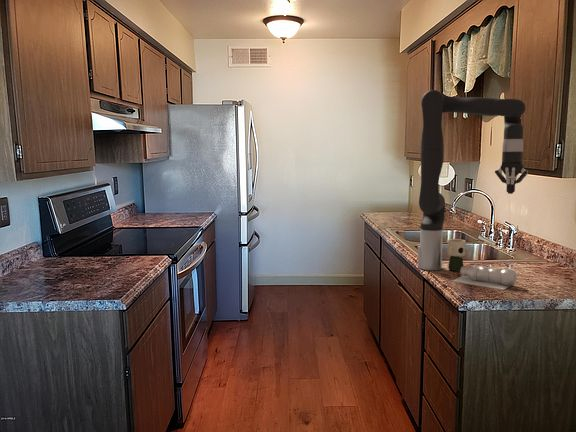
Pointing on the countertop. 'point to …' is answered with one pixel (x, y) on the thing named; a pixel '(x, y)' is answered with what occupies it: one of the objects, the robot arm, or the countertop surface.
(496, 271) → the plastic bottle
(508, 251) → the countertop surface
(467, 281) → the mat
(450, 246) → the character mug
